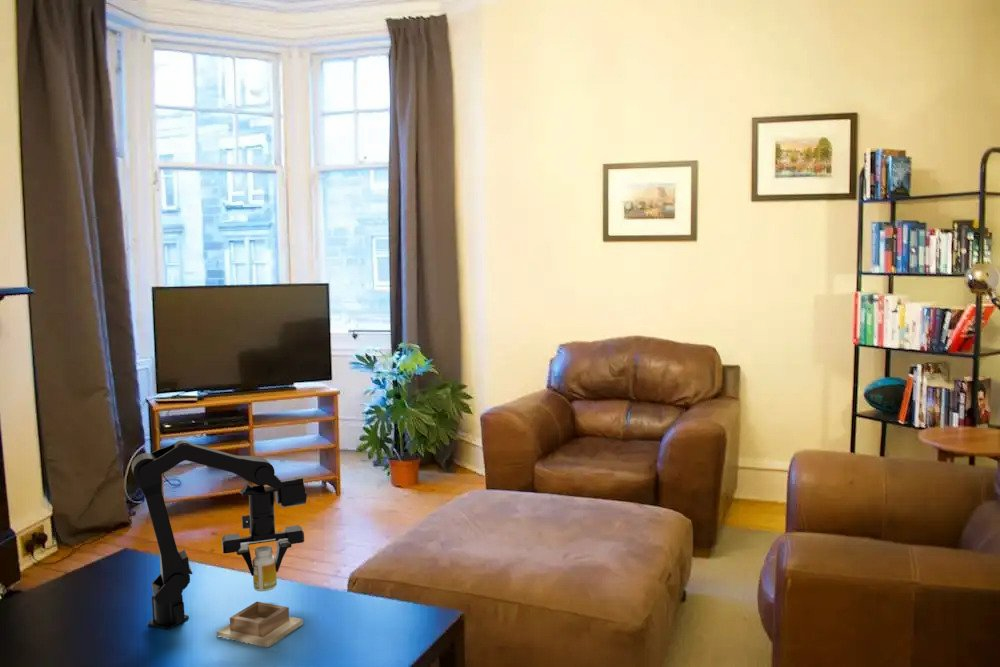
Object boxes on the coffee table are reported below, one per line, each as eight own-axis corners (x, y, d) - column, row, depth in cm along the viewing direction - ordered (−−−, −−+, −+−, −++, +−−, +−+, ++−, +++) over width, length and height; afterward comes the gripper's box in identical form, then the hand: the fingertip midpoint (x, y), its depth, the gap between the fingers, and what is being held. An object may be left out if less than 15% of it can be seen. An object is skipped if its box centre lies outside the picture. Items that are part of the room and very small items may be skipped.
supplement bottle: (280, 583, 198) (278, 544, 197) (271, 592, 192) (270, 552, 191) (259, 582, 198) (257, 544, 197) (250, 591, 193) (248, 552, 192)
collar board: (216, 637, 177) (215, 618, 177) (253, 614, 188) (252, 597, 188) (268, 647, 172) (267, 628, 171) (302, 624, 183) (301, 606, 182)
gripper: (296, 496, 204) (299, 556, 206) (219, 506, 197) (222, 568, 199) (303, 509, 194) (305, 571, 195) (221, 519, 187) (224, 584, 188)
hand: (264, 573), depth 195 cm, fingers closed on supplement bottle, 5 cm apart
